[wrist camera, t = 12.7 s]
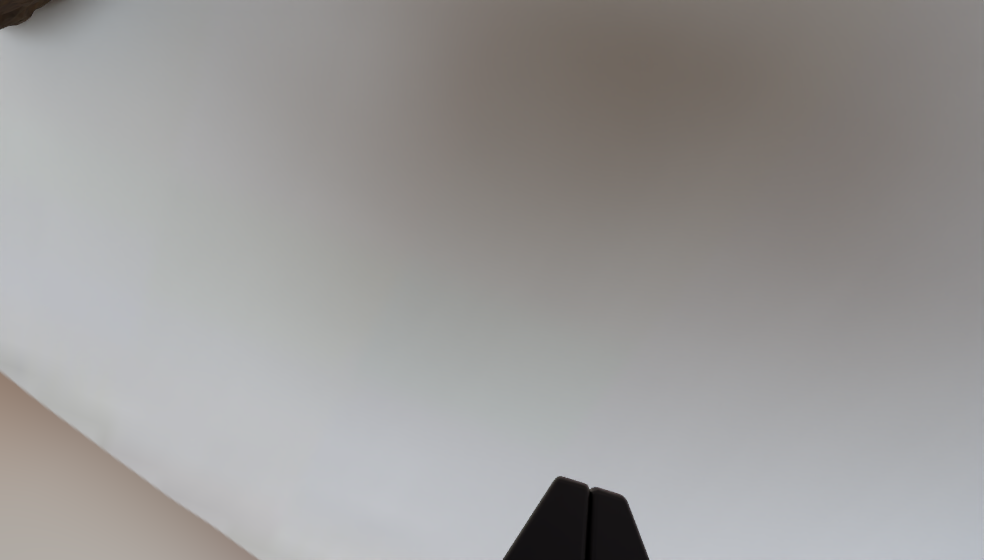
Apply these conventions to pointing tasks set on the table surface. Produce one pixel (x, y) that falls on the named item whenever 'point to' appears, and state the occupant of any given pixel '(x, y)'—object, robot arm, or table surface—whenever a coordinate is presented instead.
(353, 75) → the table surface
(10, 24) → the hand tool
